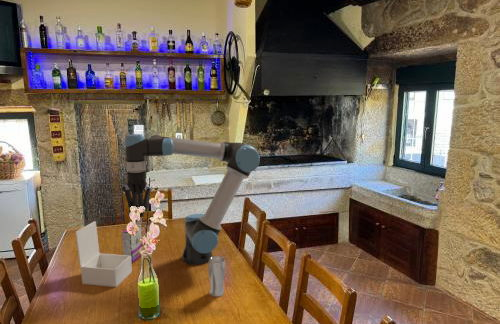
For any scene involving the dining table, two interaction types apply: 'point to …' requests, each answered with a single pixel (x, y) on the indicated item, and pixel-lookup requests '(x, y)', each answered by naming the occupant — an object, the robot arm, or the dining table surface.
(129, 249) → the candy bar box
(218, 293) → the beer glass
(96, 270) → the mailer box
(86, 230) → the mailer lid
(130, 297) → the dining table surface
